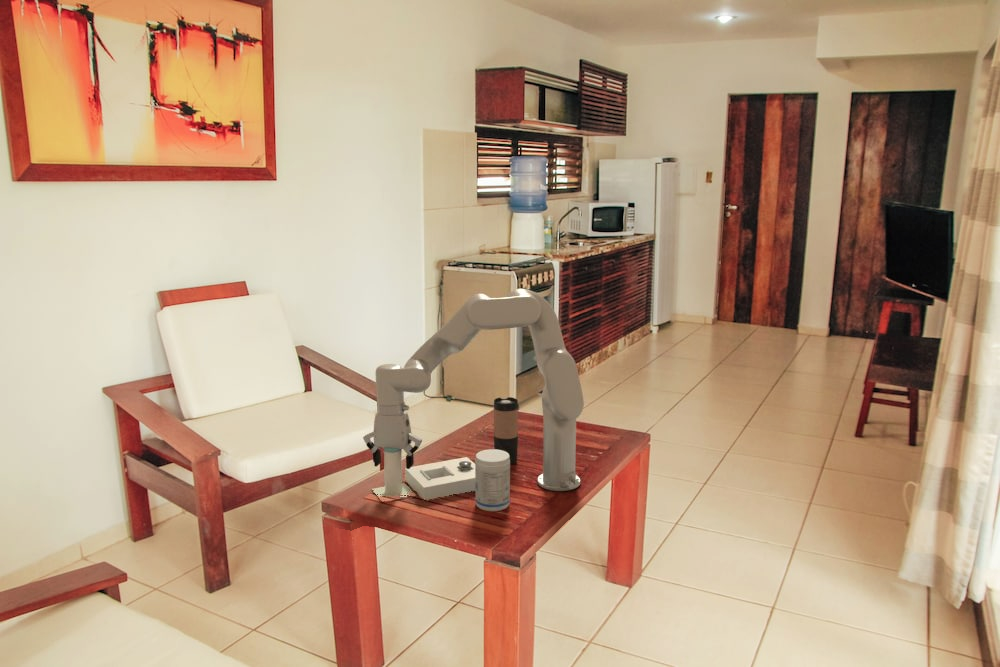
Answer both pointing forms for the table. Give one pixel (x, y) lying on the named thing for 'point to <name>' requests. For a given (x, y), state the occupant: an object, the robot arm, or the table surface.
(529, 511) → the table surface
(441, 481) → the housing
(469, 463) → the plunger
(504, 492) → the supplement tub
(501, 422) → the travel mug
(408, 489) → the mat
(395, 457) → the cartridge
